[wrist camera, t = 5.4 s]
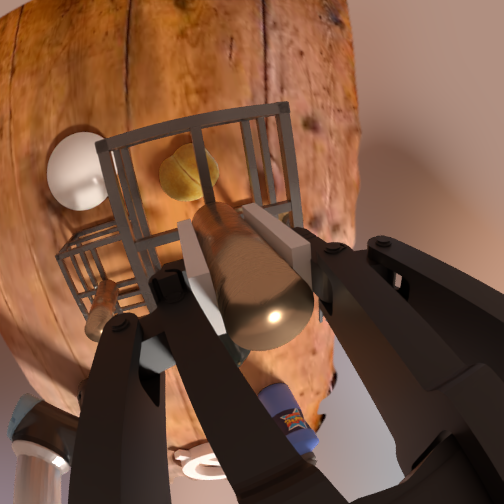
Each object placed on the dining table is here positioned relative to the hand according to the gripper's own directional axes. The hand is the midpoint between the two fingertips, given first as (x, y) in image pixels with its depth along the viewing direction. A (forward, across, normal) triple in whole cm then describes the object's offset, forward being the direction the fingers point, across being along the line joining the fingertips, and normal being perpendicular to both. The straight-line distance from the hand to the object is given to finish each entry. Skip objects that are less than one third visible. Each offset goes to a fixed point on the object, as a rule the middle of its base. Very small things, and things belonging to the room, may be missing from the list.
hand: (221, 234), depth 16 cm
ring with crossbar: (+30, -16, -90) cm, 96 cm away
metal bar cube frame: (+29, -15, -11) cm, 34 cm away
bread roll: (+29, +1, 0) cm, 29 cm away
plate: (+29, -16, +5) cm, 33 cm away
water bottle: (+29, +7, -59) cm, 66 cm away
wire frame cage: (+11, 0, 0) cm, 11 cm away
